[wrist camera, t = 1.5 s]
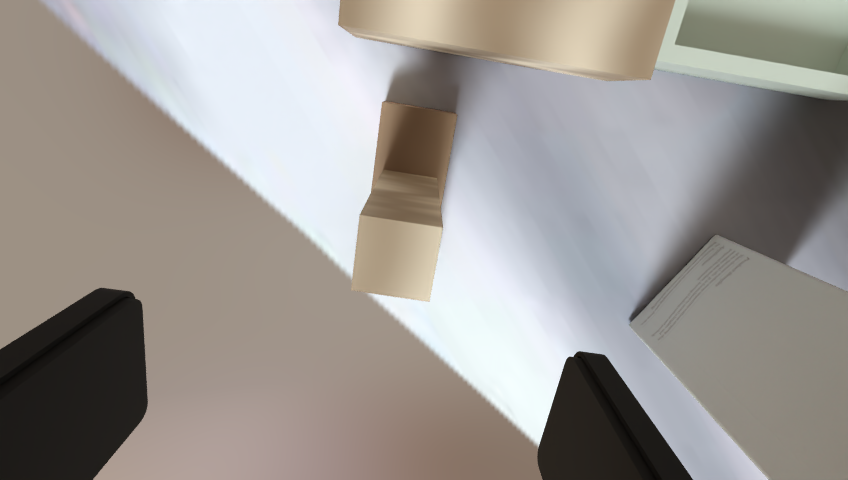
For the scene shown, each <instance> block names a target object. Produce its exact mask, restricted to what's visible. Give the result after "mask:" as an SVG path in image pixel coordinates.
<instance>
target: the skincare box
mask: <svg viewBox="0 0 848 480" xmlns="http://www.w3.org/2000/svg"><path fill="white" fill-rule="evenodd" d="M629 326H630V327H631V329H632V330H633V331H634V332H635V334H636V335H637V336H638V337H639V338H640V339H641V340H642V341H643V342H644V343H645V344H646V345H647V347H648V348H649V349H650V350H651V351H652V352H653V353H654V354H655V355H656V356H657V357H658V358H659V360H660V361H661V362H662V363H663V364H664V365H665V366H666V367H667V368H668V369H669V371H670V372H671V373H672V374H673V375H674V376H675V377H676V378H677V379H678V380H679V381H680V383H681V384H682V385H683V386H684V387H685V388H686V389H687V390H688V391H689V393H690V394H691V395H692V396H693V397H694V398H695V399H696V400H697V401H698V403H699V404H700V405H701V406H702V407H703V408H704V409H705V410H706V411H707V412H708V414H709V415H710V416H711V417H712V418H713V419H714V420H715V421H716V422H717V424H718V425H719V426H720V427H721V428H722V429H723V430H724V431H725V432H726V433H727V434H728V436H729V437H730V438H731V439H732V440H733V441H734V442H735V443H736V444H737V445H738V447H739V448H740V449H741V450H742V451H743V452H744V453H745V454H746V455H747V456H748V458H749V459H750V460H751V461H752V462H753V463H754V464H755V465H756V466H757V468H758V469H759V470H760V471H761V472H762V473H763V474H764V475H765V476H766V478H767V479H768V480H848V292H847V291H845V290H842V289H840V288H838V287H836V286H833V285H831V284H829V283H826V282H824V281H822V280H820V279H817V278H815V277H813V276H810V275H808V274H806V273H804V272H801V271H799V270H797V269H794V268H792V267H790V266H788V265H785V264H783V263H781V262H778V261H776V260H774V259H772V258H769V257H767V256H765V255H762V254H760V253H758V252H756V251H753V250H751V249H749V248H747V247H744V246H742V245H740V244H737V243H735V242H733V241H731V240H728V239H726V238H724V237H721V236H719V235H715V236H714V237H713V238H712V239H711V240H710V241H709V242H708V243H707V244H706V245H705V246H704V247H703V248H702V249H701V250H700V251H699V252H698V253H697V254H696V255H695V256H694V257H693V259H692V260H691V261H690V262H689V263H688V264H687V265H686V266H685V267H684V268H683V269H682V270H681V271H680V272H679V273H678V274H677V275H676V276H675V277H674V278H673V279H672V280H671V281H670V282H669V283H668V284H667V285H666V286H665V288H664V289H663V290H662V291H661V292H660V293H659V294H658V295H657V296H656V297H655V298H654V299H653V300H652V301H651V302H650V303H649V304H648V306H647V307H646V308H645V309H644V310H643V311H642V312H641V313H640V314H639V315H638V316H637V317H636V318H635V319H634V320H633V321H632V322H631V323H630V324H629Z"/></svg>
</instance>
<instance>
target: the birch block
mask: <svg viewBox="0 0 848 480" xmlns="http://www.w3.org/2000/svg"><path fill="white" fill-rule="evenodd" d="M674 3H675V0H340V11H339V22H338V25H339V26H341V27H342V28H343V29H345V30H346V31H348V32H349V33H350V34H352V35H353V36H355V37H357V38H363V39H369V40H374V41H380V42H386V43H392V44H397V45H403V46H409V47H415V48H420V49H426V50H432V51H437V52H443V53H449V54H455V55H460V56H466V57H472V58H478V59H483V60H489V61H495V62H500V63H506V64H512V65H518V66H523V67H529V68H535V69H541V70H546V71H552V72H558V73H563V74H569V75H575V76H581V77H586V78H592V79H598V80H604V81H626V80H651V77H652V74H653V70H654V67H655V64H656V61H657V58H658V55H659V51H660V48H661V45H662V42H663V39H664V35H665V32H666V29H667V26H668V23H669V19H670V16H671V13H672V10H673V7H674Z"/></svg>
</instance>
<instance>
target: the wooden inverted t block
mask: <svg viewBox="0 0 848 480" xmlns="http://www.w3.org/2000/svg"><path fill="white" fill-rule="evenodd" d="M456 120H457V114H456V113H454V112H448V111H442V110H436V109H430V108H424V107H418V106H412V105H406V104H400V103H394V102H388V101H384V102H382V108H381V116H380V124H379V133H378V141H377V149H376V157H375V165H374V173H373V181H372V189H371V194H370V196H369V198H368V200H367V202H366V204H365V206H364V208H363V210H362V212H361V214H360V217H359V226H358V235H357V243H356V252H355V260H354V269H353V278H352V286H351V290H352V291H359V292H366V293H373V294H380V295H387V296H393V297H400V298H407V299H414V300H421V301H428V302H429V301H430V295H431V290H432V285H433V279H434V274H435V268H436V263H437V257H438V252H439V246H440V241H441V236H442V230H443V224H442V216H441V204H442V198H443V193H444V187H445V181H446V176H447V170H448V165H449V159H450V153H451V148H452V142H453V137H454V131H455V126H456Z"/></svg>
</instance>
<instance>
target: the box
mask: <svg viewBox="0 0 848 480" xmlns="http://www.w3.org/2000/svg"><path fill="white" fill-rule="evenodd" d="M654 69H655V70H661V71H667V72H672V73H678V74H684V75H689V76H695V77H701V78H706V79H712V80H717V81H723V82H729V83H734V84H740V85H746V86H751V87H757V88H763V89H768V90H774V91H780V92H785V93H791V94H797V95H802V96H808V97H814V98H819V99H825V100H843V101H848V0H675V3H674V7H673V10H672V13H671V16H670V19H669V23H668V26H667V29H666V32H665V35H664V39H663V42H662V45H661V48H660V51H659V55H658V58H657V61H656V64H655V67H654Z"/></svg>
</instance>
